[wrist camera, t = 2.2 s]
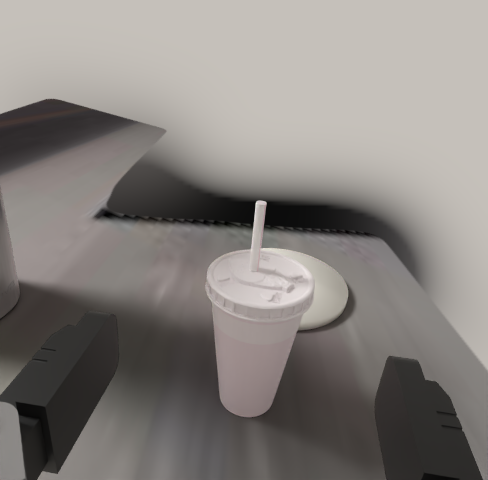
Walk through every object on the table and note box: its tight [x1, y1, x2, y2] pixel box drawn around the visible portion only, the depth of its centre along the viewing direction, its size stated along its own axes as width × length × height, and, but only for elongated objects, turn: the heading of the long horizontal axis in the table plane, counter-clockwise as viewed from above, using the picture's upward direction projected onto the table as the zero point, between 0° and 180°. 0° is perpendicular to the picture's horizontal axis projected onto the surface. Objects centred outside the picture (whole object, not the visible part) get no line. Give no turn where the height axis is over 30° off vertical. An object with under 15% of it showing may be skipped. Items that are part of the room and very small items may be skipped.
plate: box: [250, 248, 348, 330], centre depth 41 cm, size 13×13×1 cm
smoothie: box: [205, 201, 315, 417], centre depth 26 cm, size 6×6×14 cm
